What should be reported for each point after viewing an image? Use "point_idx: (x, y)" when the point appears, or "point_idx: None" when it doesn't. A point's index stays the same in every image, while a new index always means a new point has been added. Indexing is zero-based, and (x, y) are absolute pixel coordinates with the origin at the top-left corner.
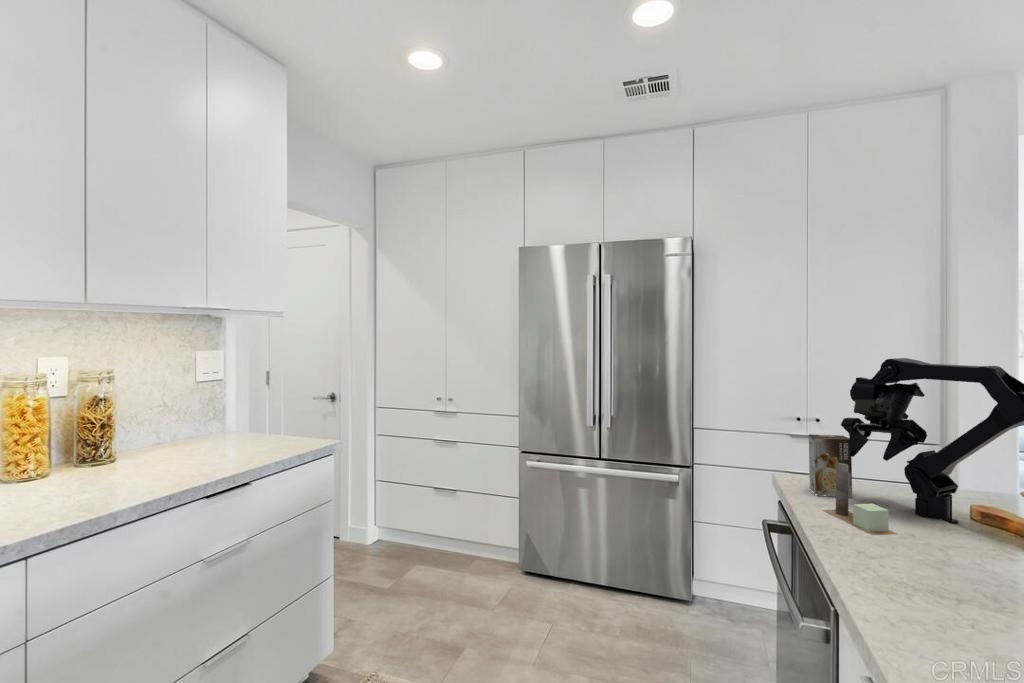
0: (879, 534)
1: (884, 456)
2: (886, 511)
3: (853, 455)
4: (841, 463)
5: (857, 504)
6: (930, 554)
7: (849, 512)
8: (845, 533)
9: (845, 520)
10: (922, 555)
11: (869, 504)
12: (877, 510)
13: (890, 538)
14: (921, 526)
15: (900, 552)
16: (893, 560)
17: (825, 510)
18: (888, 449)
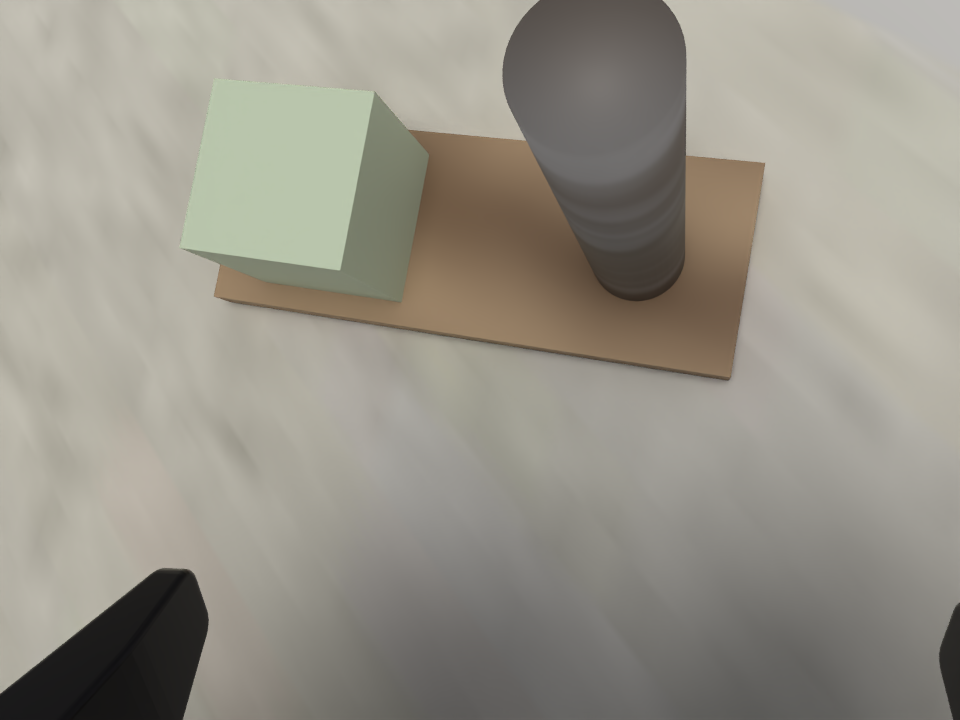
0: None
1: (143, 582)
2: (189, 233)
3: (951, 677)
4: (646, 103)
5: (357, 118)
6: (30, 266)
7: (650, 345)
8: (389, 46)
9: (506, 159)
10: (35, 211)
11: (329, 223)
12: (200, 154)
13: None
14: (334, 686)
15: (94, 130)
16: (43, 8)
17: (747, 184)
18: (13, 705)
